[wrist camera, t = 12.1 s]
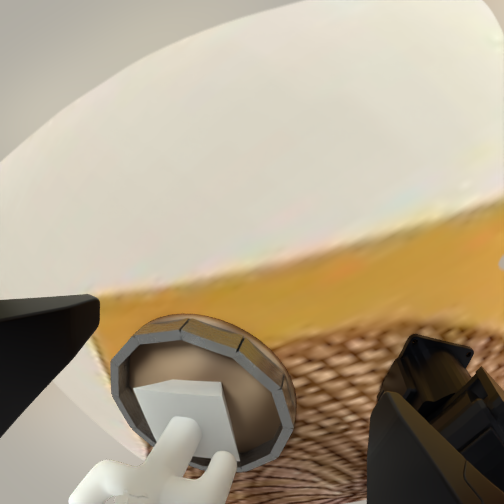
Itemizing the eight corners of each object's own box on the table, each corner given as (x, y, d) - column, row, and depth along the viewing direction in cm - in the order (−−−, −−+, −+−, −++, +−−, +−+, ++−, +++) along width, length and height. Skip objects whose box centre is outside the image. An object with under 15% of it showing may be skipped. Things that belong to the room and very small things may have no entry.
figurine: (261, 432, 24) (216, 581, 9) (166, 424, 26) (90, 539, 11) (249, 367, 22) (176, 542, 8) (143, 363, 24) (34, 481, 10)
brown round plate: (324, 350, 22) (324, 356, 21) (266, 469, 26) (265, 474, 25) (129, 286, 24) (124, 289, 23) (125, 416, 28) (121, 420, 27)
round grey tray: (320, 357, 21) (320, 373, 19) (264, 473, 25) (260, 487, 23) (125, 292, 23) (111, 301, 21) (123, 420, 27) (114, 431, 25)
